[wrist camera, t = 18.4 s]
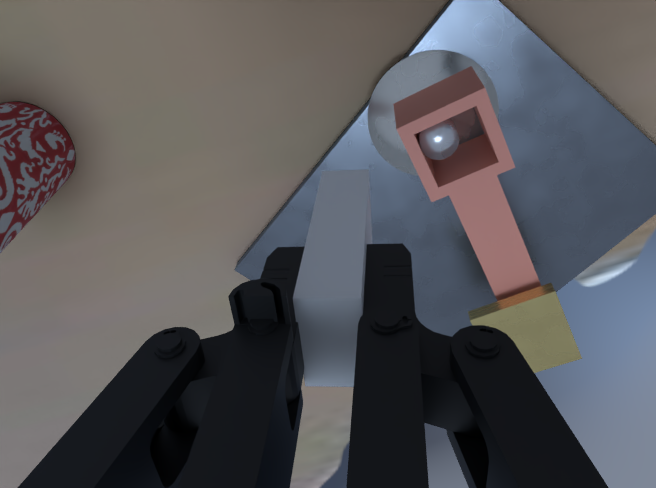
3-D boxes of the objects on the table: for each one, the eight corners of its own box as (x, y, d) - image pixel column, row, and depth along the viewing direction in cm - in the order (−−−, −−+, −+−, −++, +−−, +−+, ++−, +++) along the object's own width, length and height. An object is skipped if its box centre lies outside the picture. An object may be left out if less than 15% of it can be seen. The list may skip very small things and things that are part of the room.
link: (552, 277, 44) (572, 316, 40) (485, 300, 46) (497, 340, 41) (471, 65, 36) (485, 87, 31) (393, 103, 37) (396, 129, 33)
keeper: (455, 258, 45) (469, 320, 38) (526, 231, 43) (555, 291, 37) (483, 316, 48) (501, 382, 41) (550, 292, 46) (581, 358, 39)
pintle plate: (464, -31, 34) (467, -29, 33) (687, 175, 40) (696, 182, 39) (232, 259, 47) (229, 267, 46) (428, 382, 53) (429, 392, 52)
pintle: (430, 92, 37) (438, 115, 33) (457, 114, 38) (467, 138, 33) (407, 119, 38) (412, 144, 34) (433, 139, 39) (440, 167, 35)
